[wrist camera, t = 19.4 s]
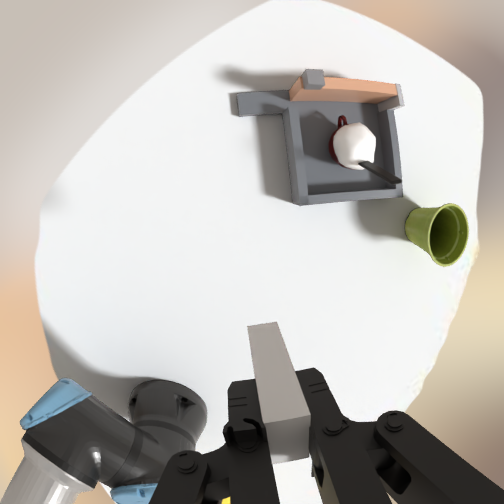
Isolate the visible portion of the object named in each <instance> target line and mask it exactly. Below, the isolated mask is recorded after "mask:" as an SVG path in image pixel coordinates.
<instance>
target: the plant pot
mask: <svg viewBox="0 0 504 504" xmlns="http://www.w3.org/2000/svg"><path fill="white" fill-rule="evenodd" d="M405 232H406V235H407V237H408V239H409V240H410V241H411V242H413V243H414V244H415V245H417V246H419V247H420V248H422V249H423V250H424V251H426V252H427V253H428V254H429V255H430V256H431V258H432V260H433V261H434V262H435V263H436V264H438V265H440V266H443V267H446V266H450V265H452V264H454V263H455V262H456V261H457V260H458V259H459V258H460V257H461V255H462V254H463V252H464V250H465V248H466V245H467V241H468V234H469V227H468V221H467V217H466V215H465V213H464V211H463V210H462V209H461V208H460V207H459V206H458V205H456V204H452V203H448V204H445V205H443V206H441V207H438V208H416V209H414V210H413V211H411V212H410V214H409V217H408V219H407V220H406V223H405Z"/></svg>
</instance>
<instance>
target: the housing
mask: <svg viewBox="0 0 504 504" xmlns="http://www.w3.org/2000/svg"><path fill="white" fill-rule="evenodd" d="M395 86H396V90H397V95H396V96H393V97H391V98H389V99H387V100H384V101H382V102H380V103H378V104H372V103H358V102H338V101H290V95H289V90H281V91H260V92H247V93H237V101H238V109H239V117H243V116H254V115H268V114H282V116H283V123H284V131H285V138H286V146H287V154H288V163H289V172H290V181H291V190H292V200H293V204H296V205H299V206H303V205H313V204H323V203H333V202H344V201H356V200H368V199H381V198H396V197H403V188H402V182H401V183H399V184H395V185H391V184H389V183H388V182H386V181H385V180H383V179H381V178H380V177H378V176H376V175H375V174H373V173H371V172H370V171H368V170H366V169H363V170H357V169H356V170H352V169H348V168H344V167H341V166H340V165H339V164H337V163H336V162H335V161H334V160H333V159H332V157H331V155H330V153H329V146H328V143H329V140H330V138H331V135H332V134H333V132H335V131H336V130H337V129H338V117H339V116H341V115H344V116H345V117H346V119H347V124H354V123H361V124H363V125H365V126H366V127H367V128H368V129H369V130H370V131H371V132H372V134H373V135H374V136H375V137H376V147H375V152H374V162H373V164H375V165H377V166H379V167H381V168H382V169H384V170H386V171H388V172H389V173H391V174H393V175H395V176H396V177H398V178H400V179H401V180H402V174H401V162H400V153H399V144H398V136H397V129H396V123H395V116H394V110H395V109H397V108H400V107H403V106H405V105H404V100H403V95H402V90H401V86H400V84H395ZM342 125H343V120H342Z"/></svg>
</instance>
